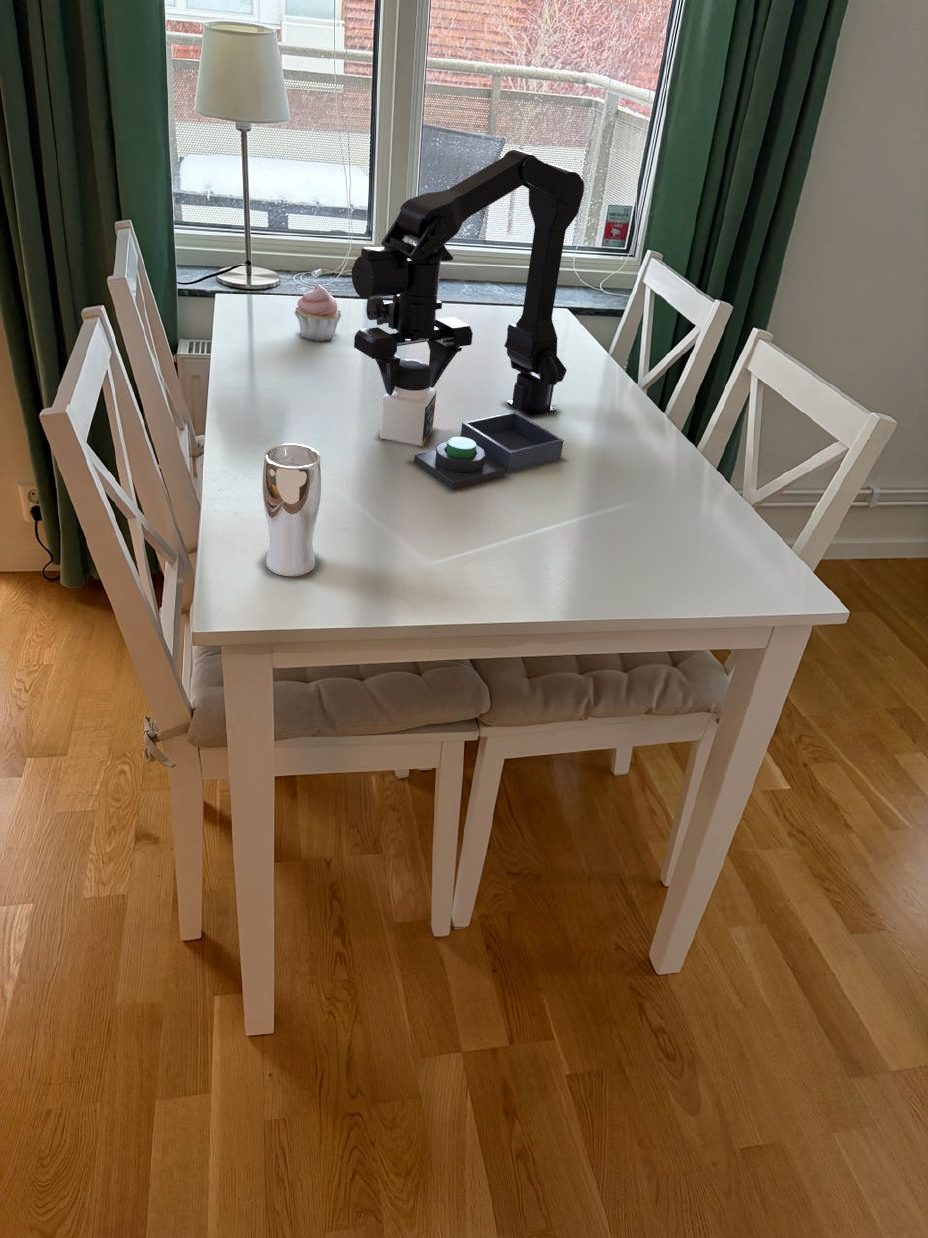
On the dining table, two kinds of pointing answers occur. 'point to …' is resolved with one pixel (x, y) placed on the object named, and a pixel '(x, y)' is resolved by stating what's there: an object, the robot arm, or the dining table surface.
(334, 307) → the cupcake
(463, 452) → the button
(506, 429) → the blue-grey tray
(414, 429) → the medicine bottle
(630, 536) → the dining table surface
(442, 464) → the control panel
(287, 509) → the beer glass
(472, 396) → the dining table surface
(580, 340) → the dining table surface
